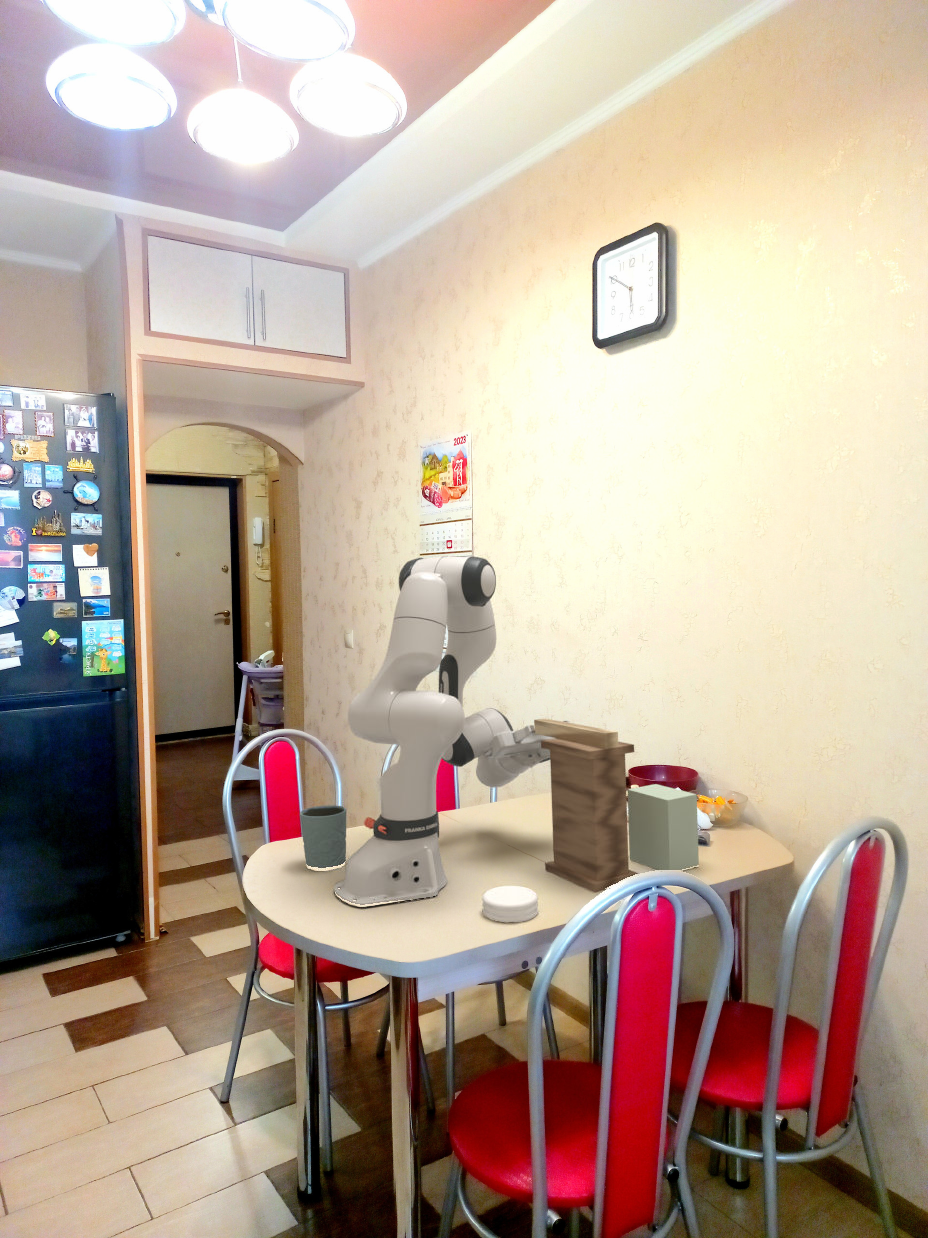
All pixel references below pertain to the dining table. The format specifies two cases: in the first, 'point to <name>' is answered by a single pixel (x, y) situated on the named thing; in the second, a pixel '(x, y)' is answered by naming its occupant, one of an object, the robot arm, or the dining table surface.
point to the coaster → (510, 904)
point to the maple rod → (577, 733)
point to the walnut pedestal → (589, 813)
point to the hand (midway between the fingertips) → (549, 726)
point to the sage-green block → (663, 827)
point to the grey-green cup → (324, 835)
